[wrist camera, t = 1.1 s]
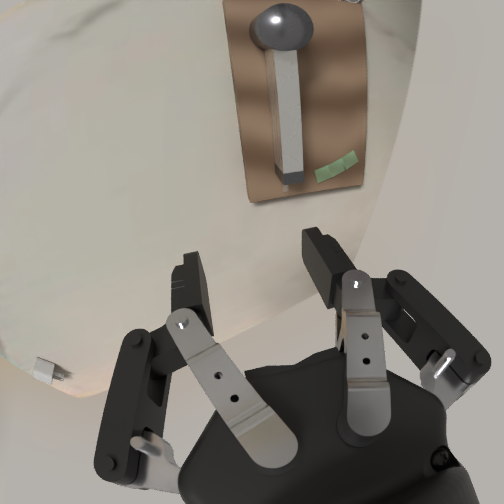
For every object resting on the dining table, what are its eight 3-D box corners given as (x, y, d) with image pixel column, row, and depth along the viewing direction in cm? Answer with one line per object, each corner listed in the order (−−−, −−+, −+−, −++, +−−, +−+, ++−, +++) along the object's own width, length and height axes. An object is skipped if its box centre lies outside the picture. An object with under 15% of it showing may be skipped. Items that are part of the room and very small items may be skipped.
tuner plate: (222, 1, 18) (224, -3, 17) (354, 5, 19) (363, 4, 18) (248, 196, 32) (250, 203, 31) (357, 179, 33) (363, 185, 32)
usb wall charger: (36, 355, 42) (33, 371, 39) (65, 366, 45) (63, 382, 42) (37, 363, 44) (33, 379, 41) (64, 374, 47) (62, 389, 44)
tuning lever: (246, 12, 18) (257, 3, 15) (292, 11, 19) (311, 4, 15) (264, 175, 29) (275, 192, 26) (303, 169, 29) (320, 185, 26)
